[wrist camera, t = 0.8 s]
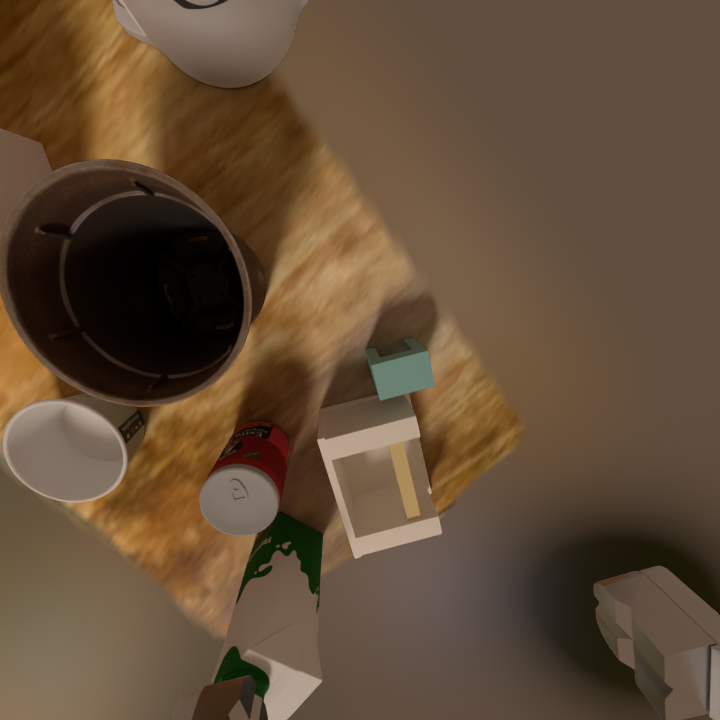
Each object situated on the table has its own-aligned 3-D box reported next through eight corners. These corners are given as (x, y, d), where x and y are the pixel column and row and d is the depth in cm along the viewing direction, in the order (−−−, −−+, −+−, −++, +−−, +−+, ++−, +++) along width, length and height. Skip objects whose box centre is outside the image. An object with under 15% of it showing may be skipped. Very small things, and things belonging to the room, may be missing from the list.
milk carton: (278, 503, 47) (240, 669, 27) (333, 533, 49) (333, 708, 29) (243, 548, 48) (184, 736, 29) (298, 575, 50) (276, 768, 31)
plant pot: (103, 236, 37) (-66, 215, 21) (244, 180, 36) (178, 116, 21) (178, 372, 41) (85, 437, 25) (305, 324, 41) (288, 360, 25)
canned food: (271, 408, 43) (251, 454, 32) (302, 457, 45) (293, 516, 35) (218, 435, 43) (181, 489, 33) (251, 483, 46) (227, 548, 35)
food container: (118, 362, 40) (78, 380, 34) (176, 444, 43) (149, 475, 37) (29, 405, 41) (-26, 430, 34) (93, 483, 44) (53, 519, 38)
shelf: (319, 408, 44) (316, 439, 36) (406, 386, 44) (422, 411, 36) (351, 511, 48) (354, 558, 40) (430, 490, 48) (449, 533, 40)
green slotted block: (365, 349, 42) (371, 365, 35) (412, 336, 42) (427, 350, 35) (372, 379, 43) (380, 400, 36) (419, 367, 43) (435, 386, 36)
